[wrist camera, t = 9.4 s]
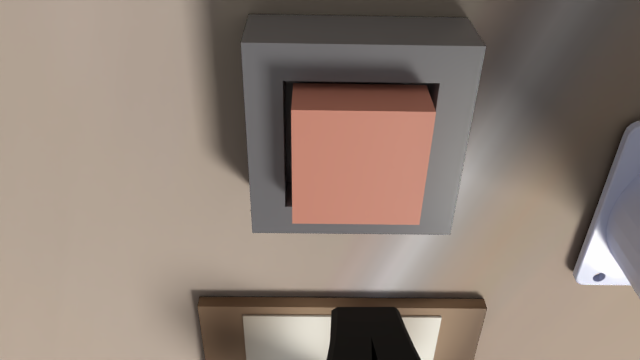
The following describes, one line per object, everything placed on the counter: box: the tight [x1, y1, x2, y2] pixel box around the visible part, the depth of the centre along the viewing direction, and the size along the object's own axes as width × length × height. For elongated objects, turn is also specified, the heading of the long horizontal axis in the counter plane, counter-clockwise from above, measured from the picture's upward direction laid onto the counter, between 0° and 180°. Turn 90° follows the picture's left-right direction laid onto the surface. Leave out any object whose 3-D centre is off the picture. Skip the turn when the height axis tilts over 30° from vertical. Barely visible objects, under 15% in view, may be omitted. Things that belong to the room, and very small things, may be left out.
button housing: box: [241, 14, 486, 235], centre depth 20 cm, size 7×7×2 cm
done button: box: [291, 83, 436, 225], centre depth 19 cm, size 4×4×2 cm
